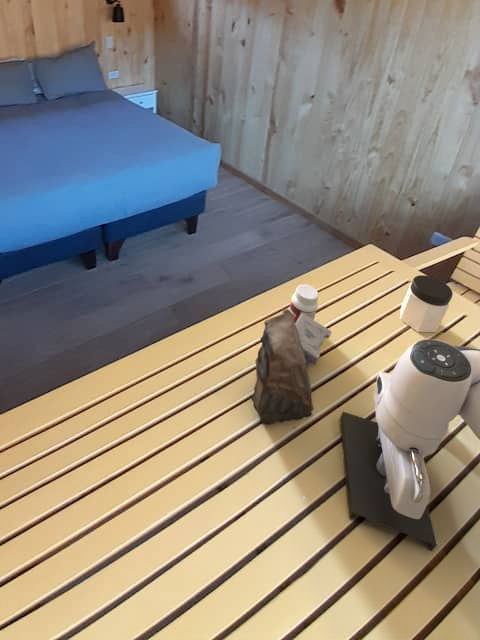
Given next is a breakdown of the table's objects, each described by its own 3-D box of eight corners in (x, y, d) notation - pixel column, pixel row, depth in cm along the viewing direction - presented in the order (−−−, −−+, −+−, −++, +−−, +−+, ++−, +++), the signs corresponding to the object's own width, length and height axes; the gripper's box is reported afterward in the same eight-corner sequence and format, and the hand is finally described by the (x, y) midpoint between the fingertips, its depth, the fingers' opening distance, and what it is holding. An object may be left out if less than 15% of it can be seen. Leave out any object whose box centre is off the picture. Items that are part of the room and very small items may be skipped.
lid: (406, 440, 80) (416, 422, 77) (432, 551, 65) (444, 534, 62) (339, 418, 84) (346, 400, 81) (349, 518, 69) (357, 501, 66)
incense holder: (309, 387, 90) (319, 356, 85) (273, 365, 95) (280, 334, 90) (323, 357, 96) (333, 327, 91) (289, 338, 101) (296, 308, 96)
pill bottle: (283, 314, 108) (290, 282, 103) (305, 313, 108) (314, 282, 103) (291, 333, 103) (299, 300, 98) (315, 333, 103) (325, 300, 97)
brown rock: (258, 429, 82) (273, 365, 73) (232, 373, 93) (242, 311, 84) (314, 418, 84) (336, 354, 75) (282, 364, 95) (298, 303, 86)
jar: (408, 332, 102) (424, 298, 97) (391, 307, 109) (404, 274, 104) (445, 334, 101) (463, 299, 96) (425, 308, 109) (441, 275, 103)
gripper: (451, 500, 57) (420, 544, 63) (416, 375, 74) (394, 419, 80) (399, 481, 59) (374, 526, 65) (377, 363, 76) (358, 408, 82)
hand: (385, 466), depth 73 cm, fingers open, 6 cm apart
